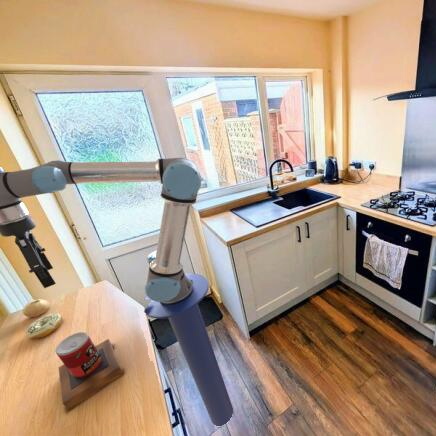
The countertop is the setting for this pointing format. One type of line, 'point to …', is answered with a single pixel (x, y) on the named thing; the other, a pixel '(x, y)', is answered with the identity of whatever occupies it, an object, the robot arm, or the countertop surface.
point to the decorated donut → (44, 326)
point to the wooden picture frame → (89, 377)
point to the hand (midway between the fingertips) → (49, 277)
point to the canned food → (79, 354)
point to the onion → (35, 308)
